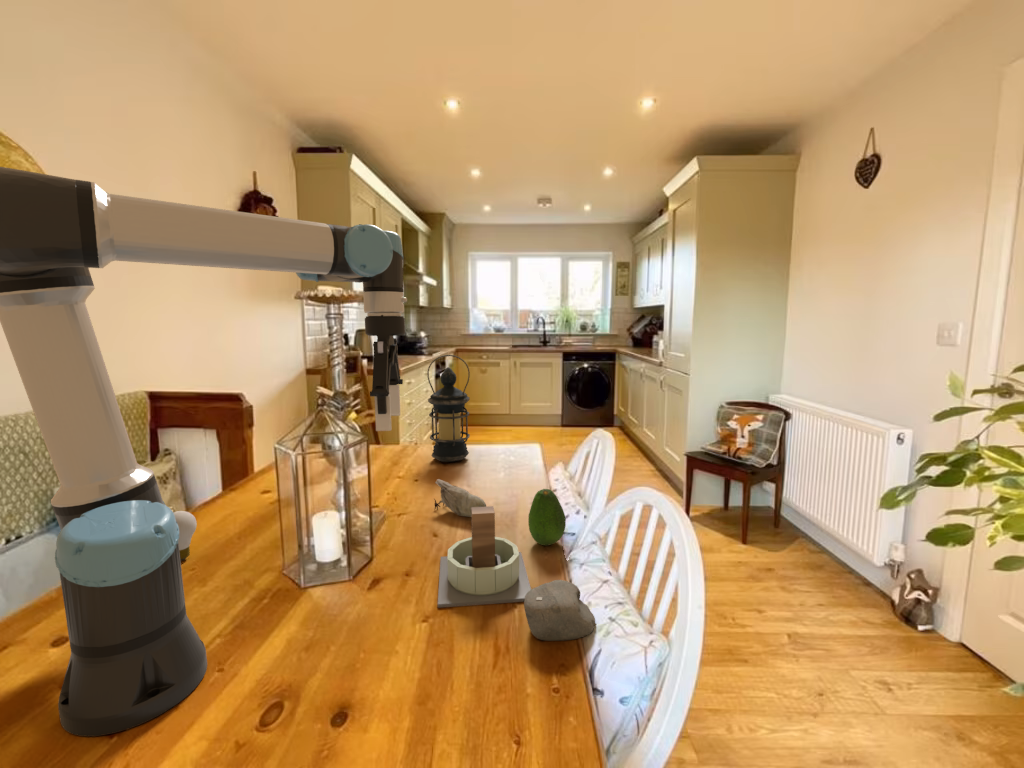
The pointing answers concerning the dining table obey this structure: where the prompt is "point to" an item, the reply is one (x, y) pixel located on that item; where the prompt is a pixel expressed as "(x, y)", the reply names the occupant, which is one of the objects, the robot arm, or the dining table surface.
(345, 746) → the dining table surface
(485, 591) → the square base green ring
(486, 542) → the wooden rectangular beam
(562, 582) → the stone
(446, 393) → the lantern
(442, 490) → the decorative bird
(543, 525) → the fruit
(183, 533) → the light bulb
